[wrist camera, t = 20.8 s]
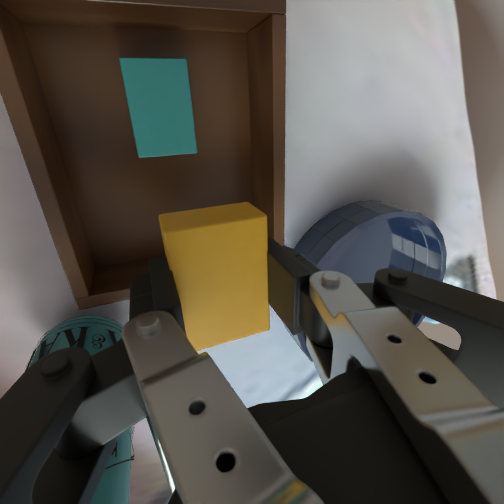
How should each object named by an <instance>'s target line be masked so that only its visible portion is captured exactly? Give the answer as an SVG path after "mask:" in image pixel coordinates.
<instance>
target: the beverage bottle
mask: <svg viewBox="0 0 504 504" xmlns="http://www.w3.org/2000/svg"><path fill="white" fill-rule="evenodd" d="M122 329H123V327H122V326H121V325H120V324H119V323H117V322H115V321H114V320H111V319H109V318H106V317H101V316H90V315H88V316H80V317H75V318H71V319H69V320H66V321H64V322H62V323H60V324H58V325H57V326H55V327H54V328H53V329H51V330H49V331H48V333H47V334H46V335H45V334H44V335H45V336H44V335H43V336H44V338H42V340H41V341H40V342H39V341H38V342H39V343H40V344H39V343H38V344H39V346H38V347H37V348H36V347H35V348H36V349H37V351H36V349H35V351H33V353H32V354H33V355H32V357H31V359H29V360H30V361H29V363H28V366H26V367H27V368H26V370H27V369H28V368H29V367H30V366H31V365H32V364H33V363H35V362H36V361H37V360H39V359H40V358H42V357H44V356H45V355H47V354H49V353H51V352H54V351H56V350H59V349H63V348H68V347H81V348H84V349H86V350H87V351H88V352H89V353H90V356H91V355H93V354H96V353H98V352H100V351H102V350H104V349H106V348H108V347H110V346H112V345H113V344H115V343H116V342H117V341H119V340H120V339H121V338H122V335H121V333H122ZM38 344H36V345H38ZM35 352H36V353H35ZM34 354H35V355H34ZM33 356H34V357H33ZM32 358H33V359H32ZM31 361H32V362H31ZM29 365H30V366H29ZM26 370H25V371H26ZM132 428H133V427H132ZM133 431H134V428H133ZM133 431H132V429H131V427H130V428H129V429H127V430H125V431H124V432H122V433H121V434H119V435H118V439H117V442H116V445H115V447H114V450H113V452H112V454H111V457H110V459H109V461H108V464H107V466H106V468H105V471H104V473H103V475H102V478H101V480H100V482H99V485H98V487H97V489H96V492H95V494H94V496H93V499H92V501H91V503H90V504H129V483H130V468H131V460H134V458H133V457H134V456H132V457H131V442H132V440H131V432H132V433H133ZM133 434H134V433H133ZM132 438H133V437H132ZM132 447H133V445H132ZM133 452H134V451H133ZM131 458H132V459H131Z"/></svg>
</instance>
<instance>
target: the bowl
mask: <svg viewBox="0 0 504 504" xmlns="http://www.w3.org/2000/svg"><path fill="white" fill-rule="evenodd" d="M294 249H295V250H296V251H297V252H298V253H300V254H301V256H304V257H305V258H306V259H307V260H309V261H310V262H311V263H312V264H314V265H315V266H316V267H317V268H319V269H320V270H321V271H336V272H340V273H343V274H345V275H347V276H348V277H350V278H351V279H352V280H353V282H354V283H374V278H375V273H376V272H377V271H378V270H380V269H384V268H397V269H403V270H406V271H410V272H413V273H416V274H419V275H422V276H425V277H428V278H431V279H434V280H437V281H440V282H443V278H444V274H445V270H446V247H445V243H444V239H443V235H442V233H441V232H440V230H439V229H438V227H437V226H436V224H435V223H434V222H433V221H432V220H430V219H429V218H427V217H425V216H424V215H422V214H421V213H418V212H415V211H412V210H409V209H406V208H403V207H400V206H397V205H394V204H390V203H385V202H381V201H371V200H370V201H360V202H356V203H352V204H349V205H346V206H343V207H341V208H339V209H337V210H335V211H333V212H331V213H330V214H328V215H327V216H325V217H324V218H322V219H321V220H320V221H319V222H317V223H316V224H315V225H314V226H313V227H312V228H311V229H310V230H309V231H308V232H307V233H306V234H305V235H304V236H303V237H302V239H301V240H300V241H299V243H298V244H297V245H296V247H295V248H294ZM424 318H425V316H423V315H421V314H419V313H416V312H415V313H414V317H413V321H412V323H413V324H414V325H415V326H416V327H418V326H419V325H420V323H421V322H422V321H423V319H424ZM283 324H284V323H283ZM284 325H285V324H284ZM285 328H286V329H287V331H288V332H289V333H290V335H291V336H292V337H293V339H294V340H295V341H296V343H297V344H298V346H299V347H300V348H301V350H302V351H303V352H304V353H305V355H306V356H307V357H308V358H309V360H310V361H312V362H313V360H312V358H311V356H310V353H309V351H308V349H307V346H306V338H307V335H306V333H305V332H304V333H301V334H297V335H294V336H293V335H292V333H291V332H290V331H289V329H288V328H287V327H286V325H285Z"/></svg>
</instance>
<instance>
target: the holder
mask: <svg viewBox="0 0 504 504" xmlns="http://www.w3.org/2000/svg"><path fill="white" fill-rule="evenodd" d="M285 14H286V0H0V93H1V96H2V98H3V101H4V104H5V107H6V110H7V112H8V115H9V118H10V121H11V124H12V126H13V129H14V132H15V135H16V138H17V140H18V143H19V146H20V149H21V152H22V154H23V157H24V160H25V163H26V166H27V168H28V171H29V174H30V177H31V180H32V182H33V185H34V188H35V191H36V194H37V196H38V199H39V202H40V205H41V208H42V210H43V213H44V216H45V219H46V222H47V224H48V227H49V230H50V233H51V235H52V238H53V241H54V244H55V247H56V249H57V252H58V255H59V258H60V261H61V263H62V266H63V269H64V272H65V275H66V277H67V280H68V283H69V286H70V289H71V291H72V294H73V297H74V299H75V303H76V305H77V308H78V310H82V309H87V308H91V307H96V306H101V305H105V304H110V303H114V302H119V301H124V300H128V299H130V282H131V281H132V279H133V278H134V277H135V275H137V274H142V273H147V272H150V268H149V259H153V258H158V257H163V256H166V255H165V249H164V244H163V239H162V233H161V228H160V223H159V217H158V216H159V215H160V214H165V213H172V212H179V211H186V210H193V209H200V208H207V207H214V206H221V205H228V204H235V203H242V202H249V203H250V204H252V205H253V206H254V207H256V208H257V209H259V210H260V211H262V212H263V213H264V214H266V215H267V233H268V237H272V238H273V239H274V240H275V241H276V242H278V243H279V244H280V245H281V246H284V188H285V66H286V15H285ZM120 57H138V58H186V59H187V66H188V74H189V83H190V92H191V101H192V109H193V118H194V127H195V136H196V144H197V153H193V154H180V155H168V156H156V157H144V158H139V157H138V152H137V147H136V142H135V137H134V132H133V127H132V122H131V117H130V112H129V107H128V102H127V97H126V92H125V87H124V82H123V77H122V72H121V67H120V61H119V58H120Z"/></svg>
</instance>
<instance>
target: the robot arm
mask: <svg viewBox="0 0 504 504" xmlns="http://www.w3.org/2000/svg"><path fill="white" fill-rule="evenodd" d="M149 268H150V272H147V273H142V274H137V275H135V277H134V278H133V279H132V281H131V282H130V310H129V321H128V322H127V323H126V324H125V326H124V327H123V329H122V333H121V335H122V338H121V339H120V340H119V341H117V342H116V343H115V344H113V345H112V346H110V347H108V348H106V349H104V350H102V351H100V352H98V353H96V354H93V355H91V356H90V353H89V352H88V351H87V350H86V349H84V348H81V347H68V348H63V349H59V350H56V351H54V352H51V353H49V354H47V355H45V356H44V357H42V358H40V359H39V360H37V361H36V362H35V363H33V364H32V365H31V366H30V367H29V368H28V369H27V370H26V371H25V372H24V373H23V375H22V376H21V377H20V378H19V379H18V380H17V381H16V382H15V383H14V385H13V386H12V387H11V388H10V389H9V390H8V391H7V392H6V393H5V395H4V396H3V397H2V398H1V399H0V504H90V503H91V501H92V499H93V496H94V494H95V492H96V489H97V487H98V485H99V482H100V480H101V478H102V475H103V473H104V471H105V468H106V466H107V464H108V461H109V459H110V457H111V454H112V452H113V450H114V447H115V445H116V442H117V439H118V435H119V434H121V433H122V432H124V431H125V430H127V429H129V428H130V427H132V426H133V425H135V424H136V423H138V422H139V421H141V420H142V419H144V418H145V417H146V418H147V421H148V424H149V427H150V430H151V433H152V436H153V439H154V442H155V445H156V448H157V451H158V454H159V456H160V459H161V462H162V465H163V468H164V472H165V475H166V478H167V481H168V484H169V487H170V490H171V494H172V496H171V499H170V501H169V503H168V504H504V302H502V301H499V300H496V299H493V298H490V297H487V296H484V295H480V294H477V293H474V292H471V291H468V290H465V289H462V288H459V287H456V286H453V285H450V284H447V283H443V282H440V281H437V280H434V279H431V278H428V277H425V276H422V275H419V274H416V273H413V272H410V271H406V270H403V269H397V268H384V269H380V270H378V271H377V272H376V273H375V278H374V283H354V282H353V280H352V279H351V278H350V277H348V276H347V275H345V274H343V273H340V272H336V271H321V270H320V269H319V268H317V267H316V266H315V265H314V264H312V263H311V262H310V261H309V260H307V259H306V258H305V257H304V256H301V254H300V253H298V252H297V251H296V250H295V249H292V248H290V247H287V246H281V245H280V244H279V243H278V242H276V241H275V240H274V239H273V238H272V237H268V251H267V270H268V303H269V304H270V305H271V307H272V308H273V309H274V311H275V312H276V313H277V315H278V316H279V317H280V319H281V320H282V321H283V323H284V324H285V325H286V327H287V328H288V329H289V331H290V332H291V333H292V335H293V336H294V335H297V334H301V333H304V332H305V333H306V335H307V338H306V346H307V349H308V351H309V353H310V356H311V358H312V360H313V362H314V365H315V367H316V369H317V371H318V374H319V376H320V378H321V381H322V383H323V386H322V387H320V388H319V389H318V390H316V391H315V392H314V393H312V394H311V395H310V396H308V397H306V398H304V399H297V400H288V401H280V402H271V403H262V404H258V405H255V406H252V407H250V408H246V406H245V405H244V404H243V402H242V401H241V399H240V398H239V396H238V395H237V394H236V392H235V391H234V389H233V388H232V387H231V385H230V384H229V382H228V381H227V379H226V378H225V377H224V375H223V374H222V372H221V371H220V370H219V368H218V367H217V365H216V364H215V362H214V361H213V360H212V358H211V357H210V356H209V355H208V353H206V352H203V353H201V354H199V355H198V353H197V352H196V350H195V349H194V347H193V346H192V344H191V343H190V341H189V340H188V338H187V335H186V330H185V324H184V318H183V313H182V307H181V302H180V299H179V295H178V291H177V287H176V284H175V280H174V276H173V272H172V270H170V269H169V265H168V261H167V257H166V256H163V257H158V258H153V259H149ZM415 312H416V313H419V314H421V315H423V316H426V317H428V318H431V319H433V320H436V321H438V322H441V323H443V324H445V325H448V326H450V327H452V328H454V329H455V330H456V331H457V332H458V333H459V334H460V336H461V345H460V348H459V350H454V349H451V348H449V347H447V346H445V345H443V344H440V343H438V342H436V341H434V340H431V339H429V338H427V337H426V336H425V335H424V334H423V333H422V332H421V331H420V330H419V329H418V328H417V327H416V326H415V325H414V324H413V323H412V321H413V317H414V313H415Z"/></svg>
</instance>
